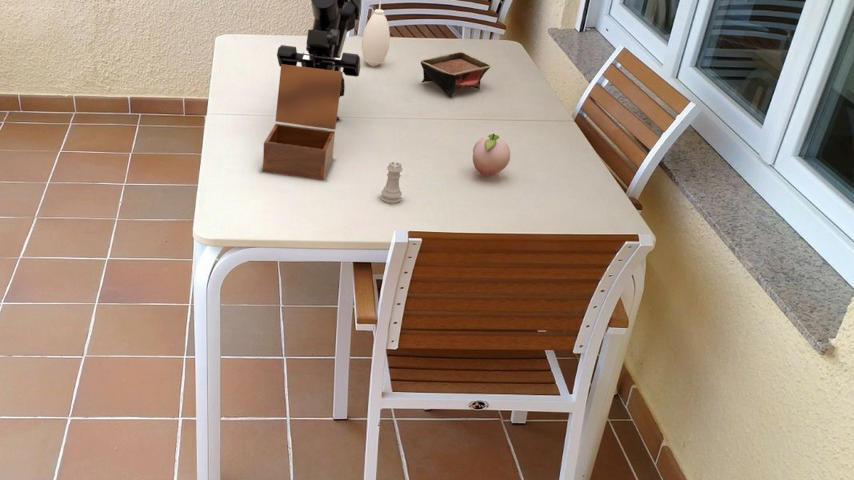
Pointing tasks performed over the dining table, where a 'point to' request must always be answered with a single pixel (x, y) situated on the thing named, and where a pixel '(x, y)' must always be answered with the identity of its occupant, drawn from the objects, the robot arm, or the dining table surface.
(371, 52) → the cream tall oval piece
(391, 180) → the rook chess piece
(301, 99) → the bin lid
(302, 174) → the bin
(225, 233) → the dining table surface
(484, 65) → the square footed planter
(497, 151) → the decorative fruit
